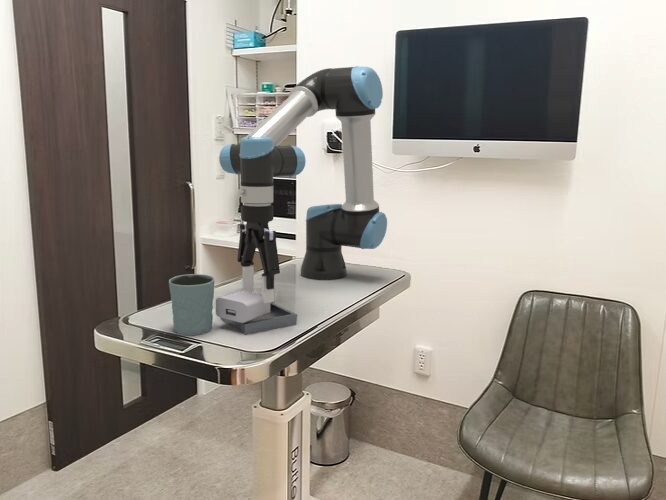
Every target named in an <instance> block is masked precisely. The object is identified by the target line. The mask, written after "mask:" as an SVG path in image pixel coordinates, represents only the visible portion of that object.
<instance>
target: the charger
mask: <svg viewBox="0 0 666 500" xmlns="http://www.w3.org/2000/svg"><path fill="white" fill-rule="evenodd" d="M274 302H275V299H274ZM274 302H269V303H262V293H258V292H255V291H254V292H249V291H243V290H241V291H238V292H234V293H231V294H227V295H223V296H220V297H217V298H216V299H215V315H216V316H217V317H219V318H224V319H228V320H232V321H237V322H241V323H244V322H247V321H250V320H252V319H255V318H258V317H261V316H263V315H266V314H269V313H270V304H271V303H274Z"/></svg>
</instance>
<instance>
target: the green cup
mask: <svg viewBox="0 0 666 500" xmlns="http://www.w3.org/2000/svg"><path fill="white" fill-rule="evenodd" d="M168 287H169V293H170V300H171V310H172V323H173V330H174V332H175V333H176V332H177V333H179V334H178V335H181V334H183V335H182V336H200V335H204V334H207V333H209V332H211V331H212V329H213V320H214V319H213V315H214V314H213V307H214V306H213V305H214V304H213V303H214V302H213V301H214V295H215V294H214V292H215V277H214V276H211V275H209V274H201V273H192V274H191V273H190V274H189V273H188V274H187V273H186V274H181V275H176V276H174V277H172V278H170V279H168ZM177 333H176V334H177Z"/></svg>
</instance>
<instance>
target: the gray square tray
mask: <svg viewBox="0 0 666 500" xmlns="http://www.w3.org/2000/svg"><path fill="white" fill-rule="evenodd" d="M297 316H298V314H296V313H294V312H292V311H290V310H288V309H287V308H285V307H282V306H281V305H278V304H276V303H275V302H273V303H271V304H270V313H269V314H266V315H263V316H261V317H258V318H255V319H252V320H250V321H247V322H244V323H241V322H237V321H232V320H228V319H224V318H220V317H219V318H220V320H221V321H223V322H224V323H225V324H228V325H229V326H231V327H232V328H233V329H236V331H238V332H240V333H241V334H244V336H245V335H251V334H256V333H260V332H261V333H262V332H266V331H271V330H277V329H280V328H286V327H290V326H291V327H292V326H295V325H297V324H298V323H297V322H298V321H297Z"/></svg>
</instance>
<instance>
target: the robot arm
mask: <svg viewBox="0 0 666 500" xmlns="http://www.w3.org/2000/svg"><path fill="white" fill-rule="evenodd" d="M383 92H384V91H383V85H382V82H381V78H380V76H379V75H378V72H376V71H375V69H374V68H372V67H370V66H358V65H356V66H347V67H336V68H335V67H334V68H332V67H331V68H324V69H323V68H322V69H321V70H318V71H316V72H313V73H312V74H310V75H309V76H307V77H305V78H304V79H302V80H301V81H300V82H299V83H297V84H296V85H295V86H294V87H293V88H292V89H291V90H290V91H289V95H288V97H287V98H286V99H285V100H284V101H283V102H281V104H279V106H277V107H276V109H274V110H273V111H272V112H271V113H270V114H269V115H267V116H266V117H265V118H264V119H263V120H262V121H261V122H260V123H259V124H258V125H257V126H255V128H254V129H253V130H251V132H249V134H247V135H246V136H243V137H242V138H241V139H240V141H239V143H231V144H226V145H224V146H223V147H222V148H221V149H220V152H219V157H218V160H219V164H220V166H221V168H222V170H223V171H224V172H226V173H227V174H232V175H233V174H235V175H237V176H238V175H240V190H239V194H240V202H241V203H242V205H241V206H240V219H241V221H242V222H244V223H241V224H239V241H238V242H239V243H238V249H237V250H238V251H237V262H238V263H240V266H241V269H242V271H241V272H242V275H241V276H242V279H241V280H242V291H249V292H254V293H255V279H254V277H255V276H254V275H255V273H254V271H255V269H254V268H255V267H254V265H255V263H254V261H253V260H254V256H255V254H256V250H258V253H259V258H260V261H261V265H262V266H261V267H262V270H263V271H262V272H263V273H261V279H262V280H261V281H262V283H261V290H262V292H261V294H262V303H269V302H273V303H275V301H274V300H275V275H278V274H280V273H281V270H280V262H279V253H278V245H277V231H276V230H270V227H269V223H270V222H272V221H274V205H272V204H273V203H274V178H281V177H282V178H283V177H285V178H287V177H289V178H291V177H293V176H299V175H300V174H301V173H303V171H304V169H305V167H306V163H307V162H306V155H305V153H304V151H303V150H302V149H301V148H300V147H298V146H296V145H291V144H289V145H288V144H287V145H280V144H282V142H283V141H284V140H285V139H287V137H289V136H290V134H292V133H293V132H294V131H295V129H296V128H298V126H299V125H300V124H302V123H303V122H304V121H305V120H306V119H307V118H310V117H312V116H314V115H316V114H317V113H318V112H320V111H325V110H335V111H334V112H335V117H336V119H337V120H338V121H340V123H341V136H342V137H341V138H342V139H341V140H342V141H341V142H342V154H343V155H342V156H343V174H344V189H345V202H344V203H343V204H341V203H335V204H334V203H332V204H331V203H330V204H320V205H313V206H310V207H308V208H307V210H306V217H305V218H306V219H305V223H306V224H305V226H306V227H305V232H306V233H305V239H306V241H305V245H306V246H305V253H304V257H303V260H302V262H301V263H302V264H301V265H300V275H301V276H302V277H304V278H307V279H313V280H335V279H342V278H344V277H346V276H347V266H346V262H345V259H344V256H343V253H342V252H343V251H342V247H349V248H350V247H351V248H356V249H357V248H358V249H362V250H365V249H366V250H367V249H368V250H374V249H376V248H378V247H379V246H380V245H381V243H382V242H383V241H384V238H385V237H386V234H387V233H386V232H387V228H388V217H387V215H386V214H385V213H384V212H382V211H380V204H379V203H378V202H377V201H376V200H375V196H374V192H375V191H374V176H373V175H374V174H373V173H374V171H373V170H374V169H373V151H372V150H373V148H372V147H373V146H372V125H371V123H372V121H371V120H372V119H373V118H374V116H375V115H376V109H378V108H379V107H380V106H381V105H382V100H383V97H384V96H383V95H384V93H383Z"/></svg>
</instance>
